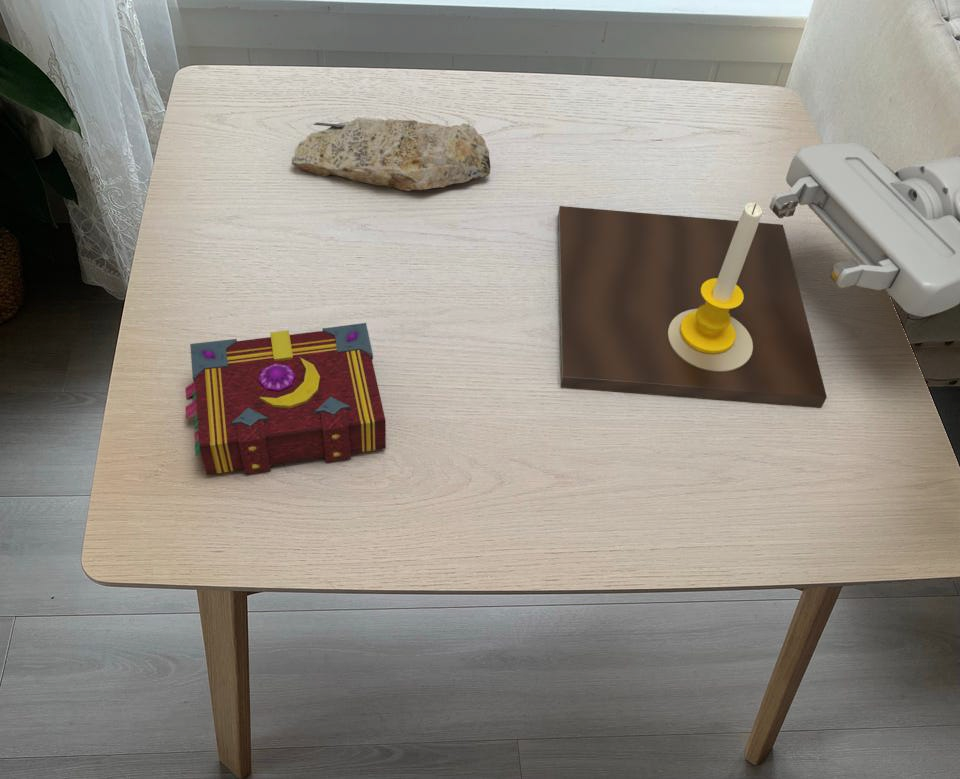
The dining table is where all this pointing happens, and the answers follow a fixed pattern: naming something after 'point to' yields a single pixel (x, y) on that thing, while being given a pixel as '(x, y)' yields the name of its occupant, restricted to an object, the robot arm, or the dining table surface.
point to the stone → (395, 153)
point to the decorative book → (285, 399)
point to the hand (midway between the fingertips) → (805, 240)
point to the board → (678, 310)
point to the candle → (722, 293)
